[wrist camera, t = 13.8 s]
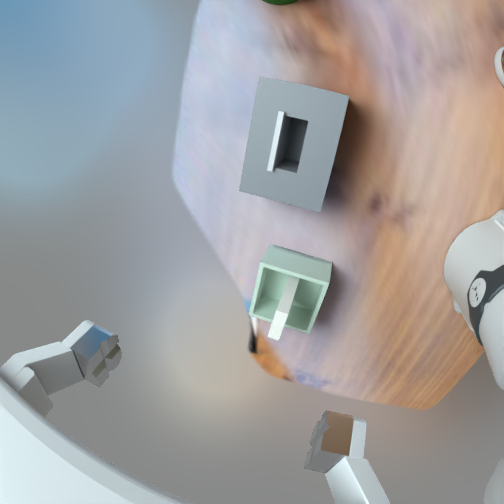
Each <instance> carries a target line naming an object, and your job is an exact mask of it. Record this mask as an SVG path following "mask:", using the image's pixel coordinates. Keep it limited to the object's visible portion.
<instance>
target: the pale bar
mask: <svg viewBox="0 0 504 504" xmlns="http://www.w3.org/2000/svg"><path fill="white" fill-rule="evenodd" d="M299 279H300V278H298V277H295V276H292V275H289V278H288V280H287V283H286V286H285V288H284V291H283V294H282V296H281V299H280V302H279V304H278V307H277V309H276V312H275V316H274V319H273V322H272V325H271V328H270V331H269V334H268V337H270V338H273V339H276V340H279V338H280V335H281V333H282V330H283V327H284V325H285V322H286V319H287V316H288V313H289V310H290V307H291V304H292V301H293V298H294V295H295V291H296V288H297V285H298V282H299Z"/></svg>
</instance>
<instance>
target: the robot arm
mask: <svg viewBox="0 0 504 504" xmlns="http://www.w3.org/2000/svg"><path fill="white" fill-rule="evenodd" d="M444 277H445V281H446V284H447V286H448V288H449V290H450V291H451V293H452V296H453V307H454V309H455V310H456V312H458V313H462V315H463V317H464V319H465V320H466V322H467V324H468V326H469V328H470V329H471V330H472V331H473V332H474V334H475V336H476V337H477V339H478V342H479V343H480V344H481V345H482V346H483V347H484V350H485V353H486V356H487V359H488V362H489V365H490V368H491V371H492V374H493V377H494V380H495V382H496V384H497V385H498V387H500V388H501V389H502V390H504V209H502V210H500V211H498V212H497V213H496V214H494V215H493V216H492V217H491V218H490V219H487V220H484V221H481V222H477V223H475V224H473V225H471V226H469V227H468V228H466V229H465V230H464V231H463V232H461V233H460V234H459V235H458V237H457V238H456V239H455V240H454V242H453V243H452V245H451V247H450V248H449V251H448V253H447V256H446V259H445V264H444ZM118 342H119V339H118V336H117V335H115V334H113V333H112V332H110V331H108V330H106V329H104V328H102V327H100V326H98V325H97V324H95V323H93V322H91V321H89V320H86V321H83V322H82V323H81V324H80V325H79V326H78V327H77V328H76V329H75V330H74V331H73V332H72V333H71V334H70V335H69V336H68V337H67V338H66V339H65V340H64V341H63V342H62V343H61V342H55V343H52V344H49V345H45V346H42V347H38V348H35V349H31V350H28V351H24V352H20V353H17V354H14V355H13V356H12V357H11V358H10V359H9V360H8V361H7V362H6V363H5V364H4V365H3V366H2V367H1V368H0V504H196V503H193V502H191V501H189V500H186V499H184V498H181V497H179V496H176V495H174V494H172V493H169V492H167V491H165V490H163V489H161V488H158V487H156V486H154V485H152V484H150V483H148V482H146V481H144V480H142V479H140V478H138V477H136V476H134V475H133V474H131V473H129V472H127V471H125V470H123V469H122V468H120V467H118V466H116V465H115V464H113V463H111V462H109V461H108V460H106V459H104V458H103V457H101V456H99V455H98V454H96V453H95V452H93V451H92V450H90V449H88V448H87V447H86V446H84V445H83V444H81V443H80V442H78V441H76V440H75V439H74V438H72V437H71V436H69V435H68V434H67V433H65V432H64V431H62V430H61V429H60V428H59V427H57V426H56V425H54V424H53V423H52V422H51V421H50V420H48V419H47V418H46V415H47V414H48V412H50V410H51V409H52V408H53V403H52V401H51V400H50V398H49V397H48V395H50V394H53V393H55V392H57V391H59V390H62V389H64V388H66V387H69V386H71V385H73V384H75V383H77V382H80V381H82V380H84V379H86V380H88V381H89V382H91V383H93V384H94V385H96V386H98V387H100V386H101V385H102V384H103V383H104V382H105V380H106V379H107V378H108V377H109V371H111V370H114V369H115V368H116V367H117V365H118V364H119V362H120V359H121V349H120V347H119V346H118V344H117V343H118ZM366 429H367V421H366V419H364V418H359V417H353V416H350V415H345V414H340V413H336V412H331V411H325V412H324V414H323V415H322V420H321V421H318V423H317V424H316V426H315V428H314V430H313V433H312V437H311V441H310V444H311V446H312V448H311V449H310V451H309V452H308V453H307V458H306V461H305V466H304V468H305V469H309V470H313V471H318V472H322V473H326V474H325V475H326V478H327V481H328V483H329V487H330V490H331V493H332V495H333V498H334V501H335V504H390V502H389V500H388V498H387V496H386V494H385V492H384V490H383V488H382V487H381V485H380V483H379V481H378V479H377V477H376V475H375V473H374V471H373V469H372V468H371V466H370V464H369V462H368V460H367V459H364V451H365V441H366V440H365V439H366ZM484 504H504V455H503V456H502V458H501V460H500V461H499V463H498V465H497V467H496V469H495V470H494V472H493V474H492V476H491V478H490V480H489V482H488V484H487V487H486V490H485V494H484Z"/></svg>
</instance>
